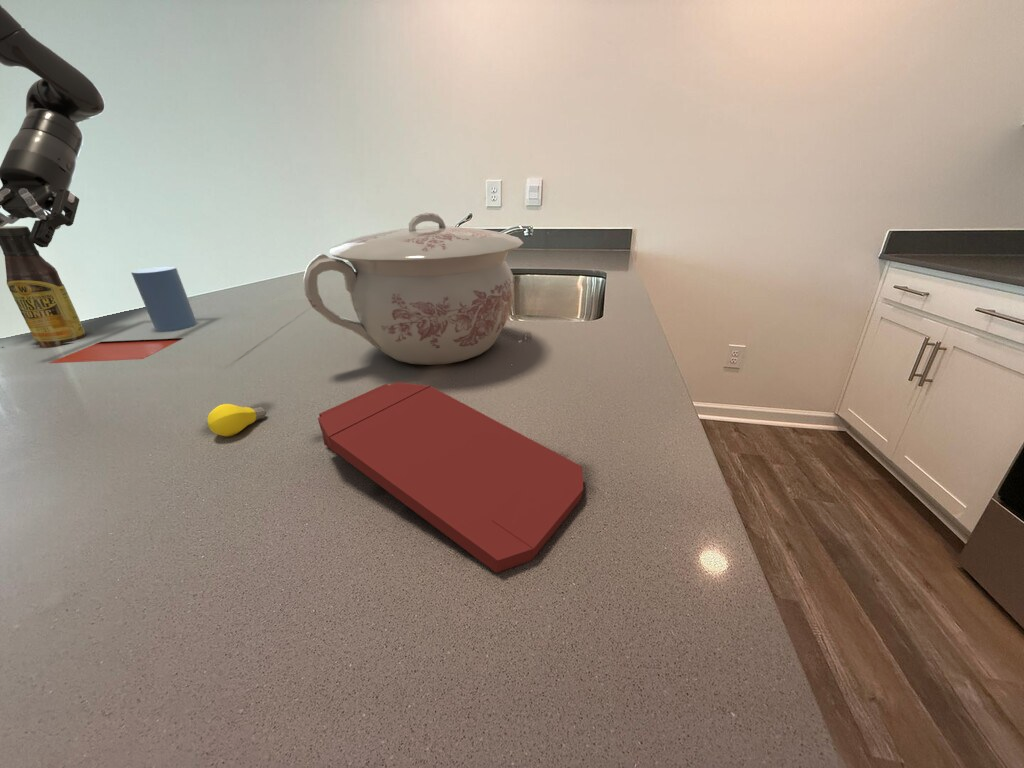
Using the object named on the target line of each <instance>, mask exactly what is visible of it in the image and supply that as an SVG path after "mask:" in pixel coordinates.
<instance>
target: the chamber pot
mask: <svg viewBox="0 0 1024 768" xmlns="http://www.w3.org/2000/svg"><path fill="white" fill-rule="evenodd" d="M424 222H425V223H426V222H432V223H435V224H438V226H418V225H419V224H421V223H424ZM417 226H418V227H417ZM523 244H524V241H522V239H520V237H518V236H514V235H509V233H505V232H500V231H494V230H488V229H483V228H474V227H473V228H472V227H461V226H446V223H445V222H444V219H443V218H442V217H441V216H440V215H439V214H437V213H433V212H423V213H420V214H417V215H415V216H414V217H412V219H411V220H410V221H409V223H408V227H405V228H398V229H392V230H387V231H380V232H375V233H371V234H370V233H369V234H365V235H362V236H357V237H354V238H349V239H347V240H345V241H343V242H341V243H338V244H335V245H334V246H331V247H330V248H329V250H328V251H329V254H330V255H331V256H332V257H329V256H328V255H327V254H325V253H320V254H317V255H316V256H315V257H314V258H312V259H310V261H309V263H308V264H307V266H306V268H305V270H304V275H303V279H302V282H303V289H304V296H305V297H306V299H307V301H308V303H309V304H310V307H311V308H312V309H313V310H315V311H316V312H317V313H319V314H320V315H321V316H322V317H323V318H324V319H326V320H327V321H329V323H332V324H334V325H336V326H339V327H342V328H344V329H347V330H349V331H352V332H353V333H354V334H356V335H358V336H360V337H361V338H362V339H364V340H365V341H366V342H368V343H369V344H370V345H372V346H373V347H374V348H376V349H379V350H380V351H381V352H382V353H384V354H385V355H387V356H389V357H390V358H392V359H394V360H395V361H398V362H402V363H407V364H411V365H423V366H424V365H426V366H434V365H435V366H439V365H440V366H441V365H449V364H453V363H460V362H463V361H466V360H469V359H471V358H476V357H478V356H480V355H481V354H483V353H485V352H487V351H488V350H489V349H490V348H492V346H493V345H494V344H495V342H496V341H497V340H498V338H499V336H500V334H501V332H502V331H503V329H504V327H505V325H506V324H507V322H508V320H509V319H510V317H511V312H512V307H513V301H514V295H515V275H514V274H513V272H512V270H511V268H510V265H509V264H508V262H507V261H506V260H507V257H508V254H509V252H511V251H515V250H517V249H518V248H520V247H521V246H522V245H523ZM344 260H345V261H344ZM346 261H347V262H349V263H350V264H351V265H350V264H348V263H347V262H346ZM329 271H333V272H334V271H335V272H338V273H341V274H342V276H343V280H344V286H345V290H346V291H347V292H348V294H349V298H350V299H349V300H350V303H351V304H352V307H353V309H354V311H355V314H356V317H357V319H358V320H354V319H350V318H347V317H344V316H340V315H339V314H337V312H335V311H334V310H332V309H331V308H330V307H328V306H327V305H326V304H325V303H324V301H323V299H322V297H321V295H320V291H319V284H318V279H319V275H321V274H322V273H325V272H329Z"/></svg>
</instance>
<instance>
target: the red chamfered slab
mask: <svg viewBox="0 0 1024 768" xmlns="http://www.w3.org/2000/svg"><path fill="white" fill-rule="evenodd" d="M318 416H319V417H317V421H318V424H319V428H320V431H321V433H322V439H323V444H324V445H325V446H326V447H327V448H329V450H331V451H332V452H334V453H335V454H337V455H338V456H340V457H341V458H342V459H344V460H345V461H346V462H348V463H349V464H350V465H352V466H353V467H354V468H356V469H357V470H358V471H360V472H361V473H362V474H363V475H365V476H366V477H368V478H369V479H371V480H372V481H373V482H374V483H376V484H377V485H378V486H380V487H381V488H382V489H384V490H385V491H386V492H388V493H389V494H390V495H392V496H393V497H394V498H395V499H397V500H398V501H400V502H401V503H403V504H404V505H405V506H406V507H408V508H409V509H410V510H412V511H413V512H414V513H416V514H417V515H418V516H420V517H421V518H423V519H424V520H425V521H426V522H427V523H429V524H430V525H432V526H433V527H435V529H437V530H438V531H440V532H441V533H442V534H444V535H445V536H446V537H447V538H449V539H450V540H452V541H453V542H454V543H456V544H457V545H458V546H460V547H461V548H462V549H464V550H465V551H466V552H468V553H469V554H470V555H472V556H473V557H475V558H476V560H478V561H479V562H481V563H482V564H483V565H485V566H486V567H488V568H489V569H490V570H492V571H493V572H494V573H495V574H497V573H499V572H503V571H506V570H509V569H513V568H514V567H517V566H521V565H523V564H526V563H529V562H531V561H533V560H534V558H535V557H536V556H537V555H538V553H539V552H540V551H541V550H542V548H543V547H544V546H545V545H546V544H547V543H548V541H549V540H550V539H551V537H552V536H553V535H554V534H555V533H556V531H557V530H558V529H559V527H560V526H561V525H562V523H564V521H565V520H566V519H567V518H568V516H569V515H570V514H571V513H572V511H573V510H574V509H575V508H576V506H578V504H579V503H580V501H581V500H582V496H583V492H584V473H583V472H584V471H583V466H582V465H581V464H579V463H576V462H574V461H572V460H571V459H569V458H567V457H565V456H563V455H562V454H560V453H558V452H556V451H554V450H552V449H550V448H548V447H546V446H544V445H542V444H541V443H539V442H537V441H535V440H533V439H531V438H529V437H527V436H526V435H523V434H522V433H520V432H518V431H516V430H514V429H512V428H510V427H509V426H507V425H505V424H503V423H501V422H499V421H497V420H496V419H493V418H492V417H490V416H488V415H486V414H484V413H482V412H480V411H478V410H476V409H474V408H473V407H471V406H469V405H467V404H465V403H463V402H462V401H459V400H458V399H456V398H454V397H452V396H451V395H448V394H446V393H445V392H443V391H441V390H440V389H437V388H435V387H433V386H431V385H425V384H419V383H417V384H416V383H408V382H398V381H396V382H393V383H391V384H389V383H384V384H382V385H380V386H378V387H375V388H373V389H371V390H368V391H367V392H364V393H362V394H360V395H357V396H355V397H353V398H351V399H348V400H347V401H345V402H342V403H339V404H337V405H335V406H333V407H331V408H328V409H327V410H324V411H322V412H320V413H318Z"/></svg>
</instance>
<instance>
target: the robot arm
mask: <svg viewBox="0 0 1024 768" xmlns="http://www.w3.org/2000/svg"><path fill="white" fill-rule="evenodd" d="M0 64H1V65H2V66H5V67H8V68H23V69H27V70H29V71H30V72H32V73H33V74H34V75H36V76H38V77H39V78H40V79H38V80H36V81H35V82H33V84H32V85H30V87H29V88H28V89H27V92H26V98H25V116H24V119H23V121H22V124H21V126H20V128H19V130H18V132H17V134H16V135H15V136H14V138H13V139H12V140H11V142H10V144H9V146H8V149H7V151H6V153H5V155H4V158H3V160H2V162H1V164H0V182H1V184H2V186H1V187H0V209H2V210H4V211H5V212H6V213H8V214H5V213H3V212H1V211H0V227H4V226H6V225H7V224H9V225H13V224H15V223H16V222H18V221H19V220H20V219H27V218H30V219H35V221H34V223H33V225H32V228H31V230H30V232H31V233H30V236H29V240H30V241H31V242H33V243H34V245H35V246H38V248H48V247H49V246H50V243H51V242H52V241H53V237H54V235H55V232H56V230H59V229H60V228H61V227H62V226H66V227H71V226H72V225H73V224H74V222H75V218H76V214H77V211H78V207H79V203H80V198H79V197H78V196H77V195H75V194H74V193H73V192H71V191H70V187H71V184H72V182H73V179H74V176H75V174H76V170H77V164H78V163H77V162H78V158H79V156H80V153H81V150H82V148H83V144H84V134H83V132H82V130H81V128H80V127H79V125H80V123H83V122H85V121H87V120H89V119H93V118H95V117H97V116H100V115H102V113H103V112H104V111H105V108H106V103H105V100H104V97H103V95H102V93H101V91H100V90H99V88H98V87H97V85H95V83H94V82H93V81H92V80H91V79H90V78H88V76H86V75H85V74H84V73H83V72H81V71H80V70H79V69H78V68H77V67H75V65H74V66H73V64H71V63H69V62H68V61H67V60H65V59H64V58H63V57H62V56H60V55H58V54H57V53H56V52H55V51H53V50H52V49H51V48H50V47H48V46H47V45H45V44H44V43H42V42H41V41H40V40H38V39H37V38H36V37H34V36H33V35H32V34H31V33H30V32H29V31H28V30H27V29H26V28H25V27H23V25H22V24H21V23H20V22H19V21H18V20H17V19H16V18H15V17H14V15H12V14H11V13H10V12H9V11H8V10H7V9H5V8H4V7H3V6H2V5H1V4H0ZM63 212H64V214H63ZM37 219H38V220H37Z"/></svg>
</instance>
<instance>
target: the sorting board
mask: <svg viewBox="0 0 1024 768" xmlns="http://www.w3.org/2000/svg"><path fill="white" fill-rule="evenodd" d="M183 339H184V337H176V338H174V337H173V338H152V339H129V340H127V339H126V340H109V341H108V340H107V341H99V342H97V343H95V344H92V345H90V346H87V347H84V348H82V349H79V350H77V351H74V352H71V353H70V354H67V355H65V356H62V357H59V358H57V359H55V360H52V361H49V364H65V363H84V362H85V363H87V362H107V361H110V362H111V361H128V360H129V361H130V360H131V361H132V360H145V359H146V358H148V357H150V356H152V355H153V354H155V353H158V352H159V351H162V350H163V349H166V348H167V347H170V346H172V345H173V344H175V343H178V342H179V341H182V340H183Z"/></svg>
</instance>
